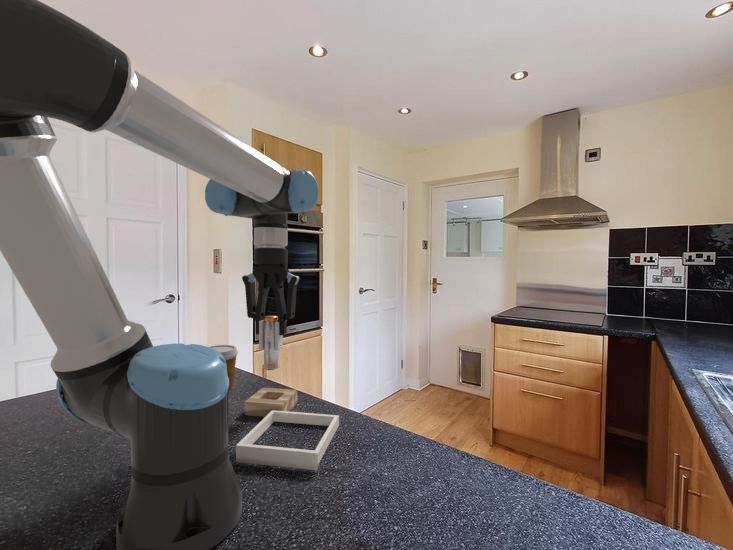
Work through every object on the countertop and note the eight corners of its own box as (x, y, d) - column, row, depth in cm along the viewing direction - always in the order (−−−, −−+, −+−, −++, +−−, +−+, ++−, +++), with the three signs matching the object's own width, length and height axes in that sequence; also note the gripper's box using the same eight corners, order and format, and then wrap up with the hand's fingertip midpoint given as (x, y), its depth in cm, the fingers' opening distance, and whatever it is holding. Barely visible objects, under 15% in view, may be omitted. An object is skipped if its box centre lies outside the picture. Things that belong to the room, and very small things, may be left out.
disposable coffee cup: (230, 400, 91) (229, 353, 90) (193, 399, 91) (192, 353, 91) (243, 386, 100) (243, 344, 100) (210, 386, 101) (209, 344, 100)
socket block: (282, 422, 79) (282, 404, 78) (244, 419, 80) (244, 401, 80) (297, 405, 87) (297, 389, 87) (262, 403, 89) (262, 387, 89)
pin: (274, 370, 81) (274, 317, 81) (261, 369, 82) (261, 317, 81) (280, 366, 84) (280, 315, 84) (267, 365, 85) (267, 315, 85)
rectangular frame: (317, 470, 61) (317, 453, 61) (236, 461, 63) (235, 445, 63) (339, 429, 75) (339, 415, 75) (272, 423, 78) (272, 410, 78)
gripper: (310, 248, 84) (309, 346, 85) (246, 248, 87) (246, 343, 88) (298, 246, 77) (298, 354, 78) (229, 246, 80) (230, 350, 81)
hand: (271, 348), depth 83 cm, fingers closed on pin, 3 cm apart
